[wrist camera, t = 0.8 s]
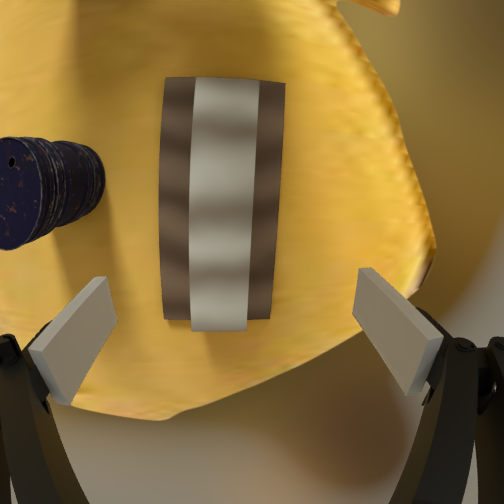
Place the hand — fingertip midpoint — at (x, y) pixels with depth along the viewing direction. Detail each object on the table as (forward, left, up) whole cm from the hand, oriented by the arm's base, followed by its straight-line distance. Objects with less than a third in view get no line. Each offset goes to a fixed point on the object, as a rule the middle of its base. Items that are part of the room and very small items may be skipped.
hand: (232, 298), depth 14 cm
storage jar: (+5, -19, -22) cm, 29 cm away
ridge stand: (-2, -1, -22) cm, 22 cm away
